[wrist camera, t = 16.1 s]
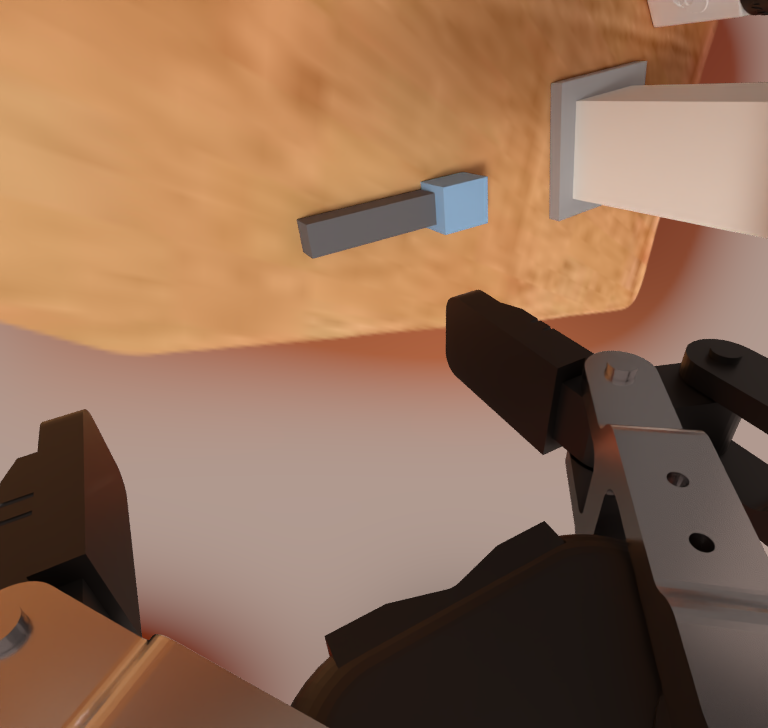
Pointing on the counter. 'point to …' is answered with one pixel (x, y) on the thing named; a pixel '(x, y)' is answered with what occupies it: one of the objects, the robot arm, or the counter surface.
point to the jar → (702, 10)
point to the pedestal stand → (660, 149)
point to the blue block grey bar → (400, 215)
